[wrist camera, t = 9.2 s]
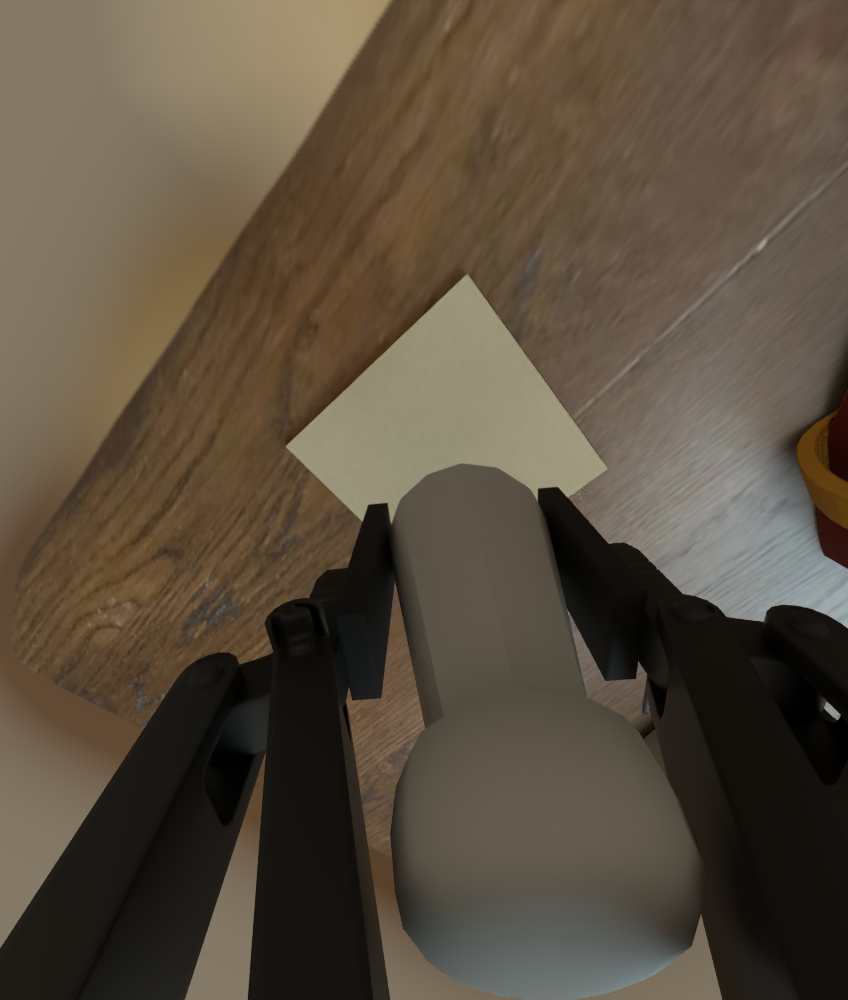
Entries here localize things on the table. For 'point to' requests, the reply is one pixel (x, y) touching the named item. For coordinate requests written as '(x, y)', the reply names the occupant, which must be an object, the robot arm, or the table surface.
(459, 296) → the placemat
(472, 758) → the salt shaker
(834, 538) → the decorative basket
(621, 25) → the table surface
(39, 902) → the robot arm
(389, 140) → the table surface
